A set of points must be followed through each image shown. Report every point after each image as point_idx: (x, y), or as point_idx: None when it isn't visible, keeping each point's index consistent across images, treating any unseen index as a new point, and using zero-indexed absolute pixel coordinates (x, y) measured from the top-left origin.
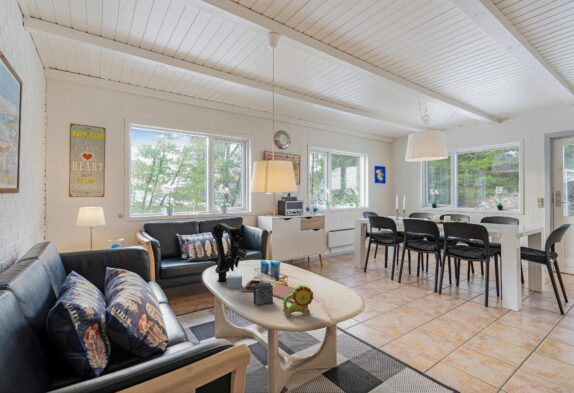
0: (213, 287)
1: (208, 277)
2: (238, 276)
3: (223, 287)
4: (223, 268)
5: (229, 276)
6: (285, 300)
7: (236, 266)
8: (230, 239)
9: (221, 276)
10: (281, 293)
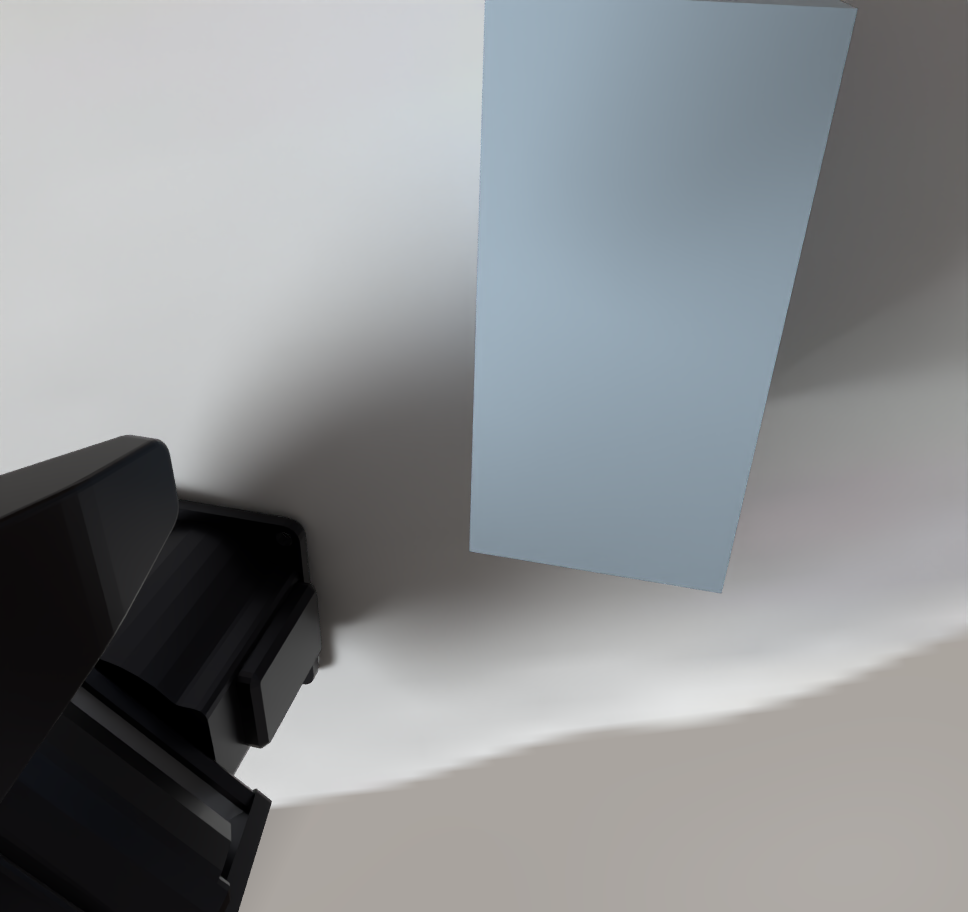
0: (695, 692)
1: None
2: (617, 163)
3: None
4: (167, 846)
5: (608, 535)
6: None
7: (144, 510)
8: None
9: (271, 683)
10: None
